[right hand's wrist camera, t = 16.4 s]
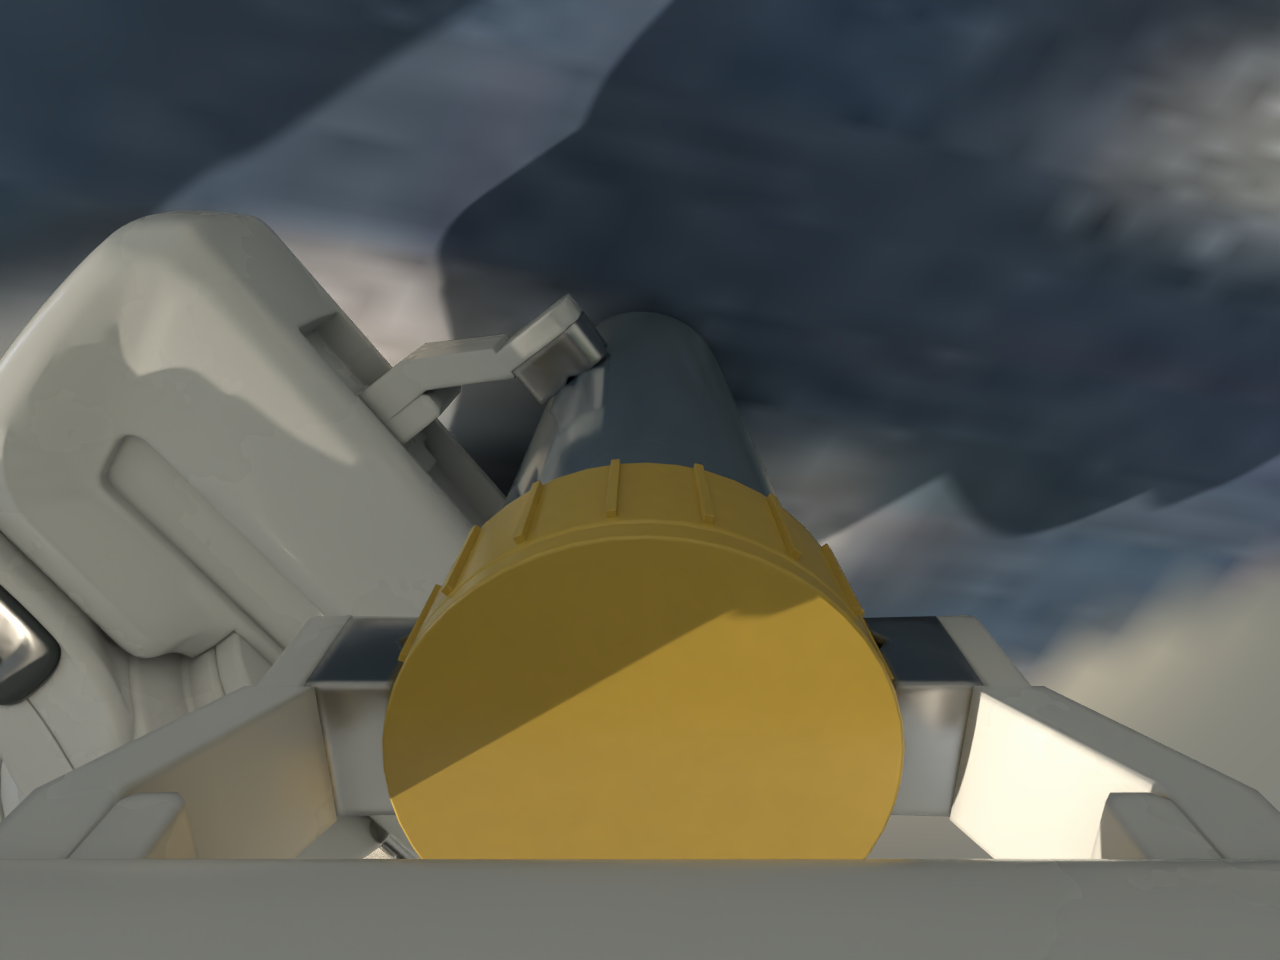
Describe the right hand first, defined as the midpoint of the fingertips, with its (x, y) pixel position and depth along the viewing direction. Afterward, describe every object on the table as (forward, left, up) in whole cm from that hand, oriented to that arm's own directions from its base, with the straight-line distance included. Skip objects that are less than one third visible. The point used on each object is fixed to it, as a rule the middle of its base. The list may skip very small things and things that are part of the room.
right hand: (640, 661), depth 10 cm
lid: (0, 0, +2) cm, 2 cm away
